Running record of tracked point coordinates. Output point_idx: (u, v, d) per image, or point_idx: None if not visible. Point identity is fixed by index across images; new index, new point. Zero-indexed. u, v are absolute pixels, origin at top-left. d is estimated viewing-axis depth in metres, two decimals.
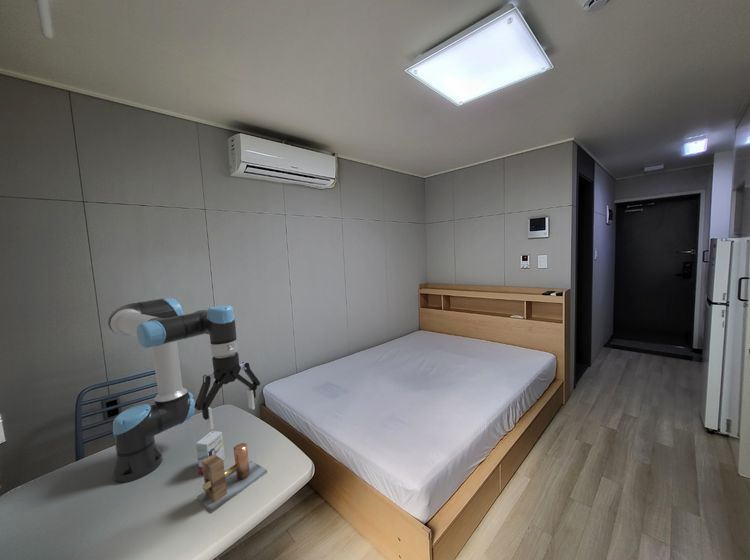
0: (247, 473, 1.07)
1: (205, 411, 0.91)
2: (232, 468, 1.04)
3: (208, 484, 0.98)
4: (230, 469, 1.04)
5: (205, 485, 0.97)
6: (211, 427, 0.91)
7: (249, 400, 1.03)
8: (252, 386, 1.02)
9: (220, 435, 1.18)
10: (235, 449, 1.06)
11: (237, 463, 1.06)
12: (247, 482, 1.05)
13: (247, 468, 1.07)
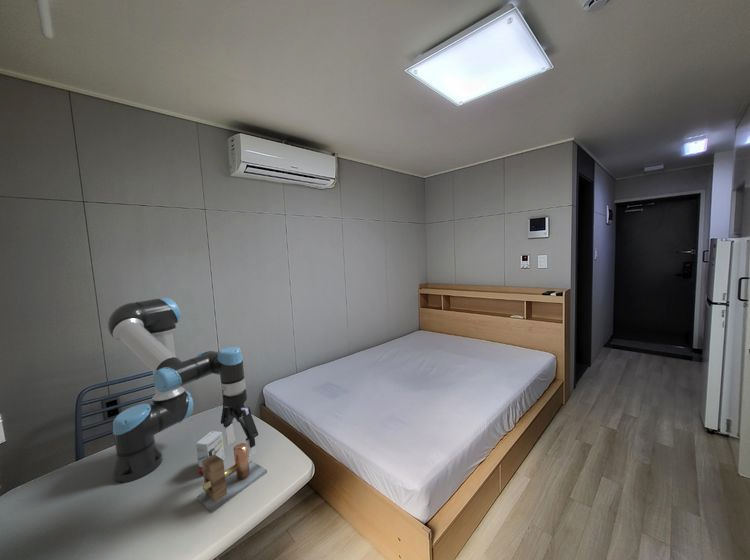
0: (247, 473, 1.07)
1: (225, 427, 1.11)
2: (232, 468, 1.04)
3: (208, 484, 0.98)
4: (230, 469, 1.04)
5: (205, 485, 0.97)
6: (227, 443, 1.10)
7: None
8: (247, 435, 1.01)
9: (220, 435, 1.18)
10: (235, 449, 1.06)
11: (237, 463, 1.06)
12: (247, 482, 1.05)
13: (247, 468, 1.07)
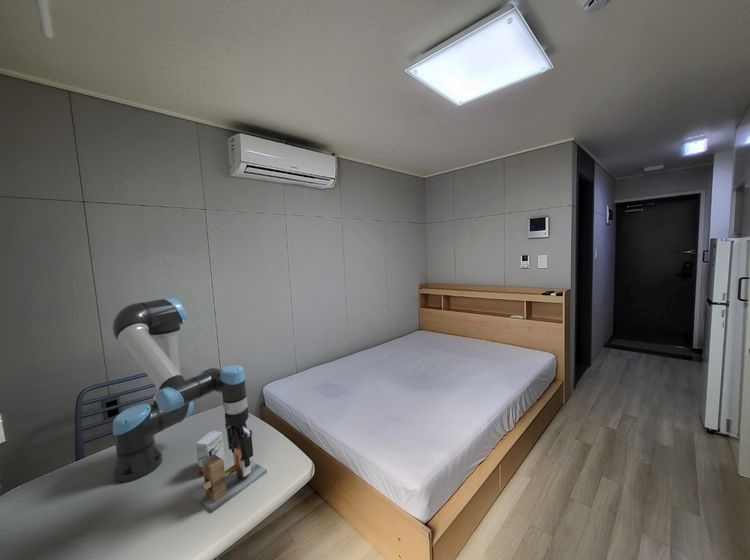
0: None
1: (233, 453, 1.09)
2: (232, 468, 1.04)
3: (208, 484, 0.98)
4: (230, 469, 1.04)
5: (205, 485, 0.97)
6: None
7: None
8: (242, 455, 1.05)
9: (220, 435, 1.18)
10: (235, 449, 1.06)
11: (237, 463, 1.06)
12: (247, 482, 1.05)
13: None
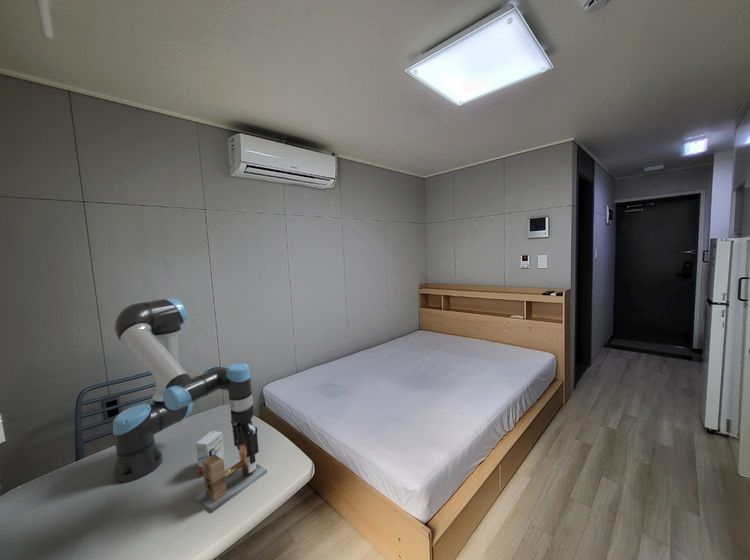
0: None
1: (239, 450, 1.11)
2: (238, 464, 1.06)
3: None
4: (236, 465, 1.06)
5: None
6: None
7: None
8: (248, 452, 1.06)
9: (220, 435, 1.18)
10: (241, 446, 1.08)
11: (243, 459, 1.07)
12: (247, 482, 1.05)
13: None
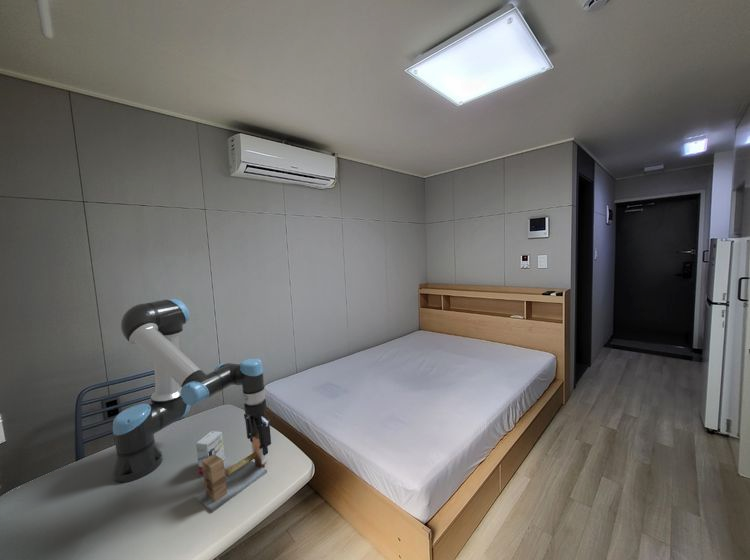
0: None
1: (252, 442, 1.15)
2: (251, 456, 1.10)
3: (230, 470, 1.04)
4: (249, 457, 1.10)
5: (227, 471, 1.03)
6: None
7: None
8: (261, 444, 1.11)
9: (220, 435, 1.18)
10: (254, 438, 1.12)
11: (256, 451, 1.12)
12: (247, 482, 1.05)
13: None
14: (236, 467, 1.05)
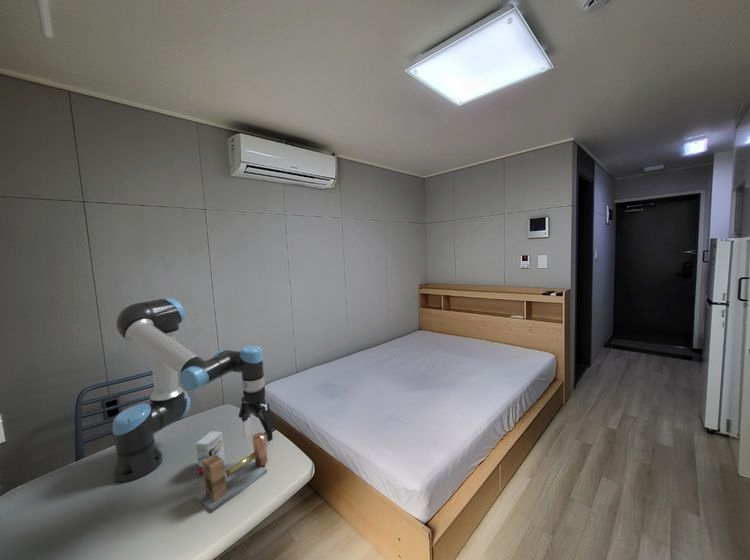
0: (265, 460, 1.13)
1: None
2: (251, 455, 1.10)
3: (230, 470, 1.04)
4: (250, 456, 1.10)
5: (227, 471, 1.03)
6: (244, 435, 1.17)
7: None
8: (265, 429, 1.08)
9: (220, 435, 1.18)
10: (254, 438, 1.12)
11: (256, 451, 1.12)
12: (247, 482, 1.05)
13: (265, 456, 1.14)
14: (236, 467, 1.05)
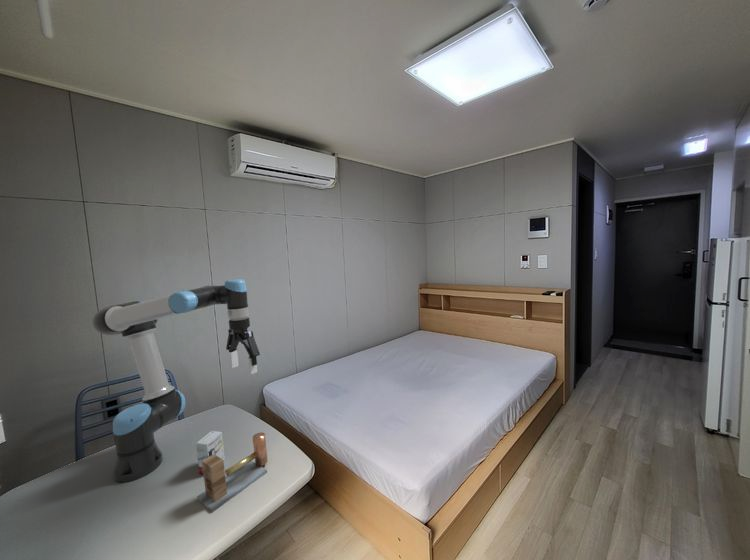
0: (265, 460, 1.13)
1: None
2: (251, 455, 1.10)
3: (230, 470, 1.04)
4: (250, 456, 1.10)
5: (227, 471, 1.03)
6: (231, 366, 1.24)
7: None
8: (249, 354, 1.15)
9: (220, 435, 1.18)
10: (254, 438, 1.12)
11: (256, 451, 1.12)
12: (247, 482, 1.05)
13: (265, 456, 1.14)
14: (236, 467, 1.05)
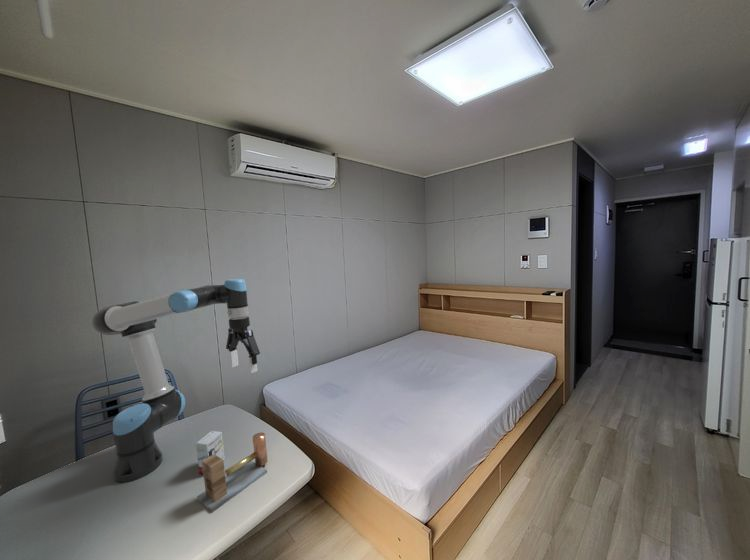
0: (265, 460, 1.13)
1: None
2: (251, 455, 1.10)
3: (230, 470, 1.04)
4: (250, 456, 1.10)
5: (227, 471, 1.03)
6: (231, 365, 1.24)
7: None
8: (249, 353, 1.16)
9: (220, 435, 1.18)
10: (254, 438, 1.12)
11: (256, 451, 1.12)
12: (247, 482, 1.05)
13: (265, 456, 1.14)
14: (236, 467, 1.05)
